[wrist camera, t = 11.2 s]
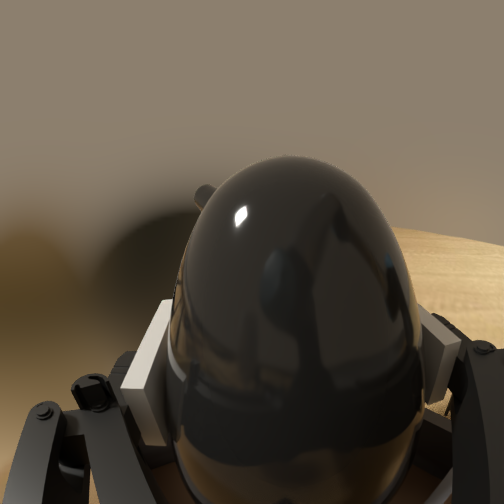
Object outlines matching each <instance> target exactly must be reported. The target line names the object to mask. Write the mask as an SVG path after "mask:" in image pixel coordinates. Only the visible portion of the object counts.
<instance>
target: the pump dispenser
mask: <svg viewBox="0 0 504 504" xmlns="http://www.w3.org/2000/svg"><path fill="white" fill-rule="evenodd" d="M194 200H195V203H196V205H197V206H198V207H199V209H200V210H201V211H202V212H201V214H200V216H199V218H198V221H197V222H196V225H195V227H194V229H193V232H192V234H191V236H190V239H189V241H188V244H187V247H186V249H185V252H184V255H183V258H182V262H181V265H180V269H179V273H178V277H177V281H176V286H175V290H174V295H173V300H172V306H171V313H170V320H169V329H168V340H167V355H166V408H167V419H168V427H169V434H170V440H171V445H172V450H173V455H174V459H175V463H176V467H177V470H178V473H179V475H180V478H181V480H182V483H183V485H184V487H185V489H186V491H187V492H188V494H189V496H190V497H191V499H192V500H193V502H194V503H195V504H389V503H390V502H391V501H392V499H393V498H394V497H395V496H396V494H397V493H398V491H399V490H400V488H401V486H402V485H403V483H404V481H405V479H406V477H407V475H408V473H409V471H410V468H411V466H412V463H413V460H414V458H415V454H416V451H417V447H418V443H419V438H420V434H421V429H422V423H423V416H424V409H425V399H426V359H425V347H424V339H423V332H422V325H421V320H420V314H419V309H418V305H417V300H416V296H415V292H414V288H413V285H412V281H411V278H410V274H409V271H408V268H407V265H406V262H405V259H404V257H403V254H402V251H401V249H400V246H399V244H398V242H397V239H396V237H395V235H394V233H393V231H392V229H391V227H390V225H389V223H388V221H387V220H386V218H385V216H384V214H383V213H382V211H381V209H380V208H379V206H378V205H377V203H376V202H375V200H374V199H373V198H372V196H371V195H370V193H369V192H368V191H367V190H366V189H365V187H364V186H363V185H362V184H361V183H360V182H358V181H357V180H356V179H355V178H354V177H352V176H351V175H350V174H348V173H347V172H345V171H344V170H342V169H340V168H338V167H336V166H334V165H332V164H330V163H327V162H325V161H322V160H318V159H315V158H310V157H304V156H295V155H294V156H293V155H282V156H277V157H272V158H268V159H265V160H261V161H258V162H256V163H253V164H251V165H249V166H247V167H245V168H243V169H241V170H240V171H238V172H237V173H235V174H234V175H232V176H231V177H230V178H228V179H227V180H226V181H225V182H224V183H223V184H222V185H221V186H220V187H218V188H216V187H214V186H212V185H210V184H206V185H202V186H201V187H199V188H198V189H197V191H196V193H195V196H194Z"/></svg>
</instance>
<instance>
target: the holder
mask: <svg viewBox="0 0 504 504" xmlns="http://www.w3.org/2000/svg"><path fill="white" fill-rule="evenodd" d="M138 445H139V447H140V448H141V450H142V453H143V455H144V458H145V460H146V462H147V465H148V467H149V469H150V472H151V474H152V476H153V478H154V480H155V483H156V485H157V487H158V489H159V491H160V493H161V495H162V497H163V499H164V501H165V503H166V504H195V503H194V502H193V500H192V499H191V497H190V496H189V494H188V492H187V491H186V489H185V487H184V485H183V483H182V480H181V478H180V475H179V473H178V470H177V467H176V463H175V459H174V455H173V450H172V445H171V440H170V434H169V435H168V440H167V445H166V446H154V445H146V444H145V442H144V440H143V438H142V436H141V437H140V440H139V444H138ZM452 477H453V450H452V426H451V420H450V419H448V418H445V417H443V416H441V415H439V414H437V413H435V412H433V411H431V410H429V409H427V408H425V409H424V416H423V423H422V429H421V434H420V438H419V443H418V447H417V451H416V454H415V458H414V460H413V463H412V466H411V468H410V471H409V473H408V475H407V477H406V479H405V481H404V483H403V485H402V486H401V488H400V490H399V491H398V493H397V494H396V496H395V497H394V498H393V499H392V501H391V502H390V503H389V504H450V503H451V500H452Z"/></svg>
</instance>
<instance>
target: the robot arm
mask: <svg viewBox="0 0 504 504" xmlns="http://www.w3.org/2000/svg"><path fill="white" fill-rule="evenodd" d="M172 300H173V299H172ZM172 300H162V302H161V304H160V306H159V308H158V310H157V312H156V314H155V316H154V318H153V320H152V322H151V324H150V326H149V328H148V330H147V332H146V334H145V336H144V338H143V341H142V342H141V345H140V347H139V349H138V351H127V352H125V353H124V354H123V355H122V356H120V357H119V358H118V359H117V361H116V363H115V365H114V368H113V369H112V371H111V374H110V375H109V377H108V378H107V377H106V376H104V375H102V374H96V373H95V374H88V375H85V376H83V377H80V378H79V379H77V380H76V381H75V382H74V384H73V385H72V387H71V392H72V394H73V396H74V398H75V400H76V402H77V404H78V406H79V408H80V409H78V410H71V411H63V412H62V410H61V408H60V407H59V405H58V404H57V403H55V402H52V401H45V402H41V403H39V404H37V405H35V406H34V407H33V408H32V409H31V410H30V412H29V414H28V417H27V419H26V422H25V425H24V428H23V431H22V434H21V437H20V440H19V443H18V446H17V449H16V452H15V456H14V459H13V462H12V466H11V470H10V473H9V477H8V481H7V485H6V489H5V494H4V498H3V503H2V504H89V485H90V469H91V471H92V475H93V479H94V483H95V487H96V491H97V495H98V498H99V502H100V504H166V503H165V501H164V499H163V497H162V495H161V493H160V491H159V489H158V487H157V485H156V483H155V480H154V478H153V476H152V474H151V472H150V469H149V467H148V465H147V462H146V460H145V458H144V455H143V453H142V450H141V448H140V447H139V445H138V444H139V440H140V437H141V436H142V438H143V440H144V442H145V444H146V445H154V446H166V445H167V440H168V435H169V427H168V419H167V408H166V355H167V340H168V329H169V320H170V313H171V306H172ZM417 305H418V309H419V314H420V320H421V325H422V332H423V339H424V347H425V359H426V399H425V402H426V404H427V405H430V404H433V403H436V402H438V401H441V400H443V399H444V396H445V394H446V391H447V388H449V390H450V391H451V392H452V395H451V398H450V401H449V403H448V406H447V409H446V411H445V415H444V416H447V415H448V412H449V411H450V412H451V426H452V450H453V477H452V500H451V504H504V349H496V347H495V346H494V345H493V344H491V343H489V342H487V341H482V340H476V341H471V340H470V339H469V338H468V337H467V336H466V335H464V334H463V333H462V332H461V331H460V330H458V329H457V328H456V327H455V326H454V325H452V324H450V322H449V321H448V320H446V319H445V318H444V317H442V316H440V315H437V314H435V313H432V314H430V313H429V312H428V311H427V310H425V309H424V308H423V307H422V306H421V305H419V304H418V303H417Z"/></svg>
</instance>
